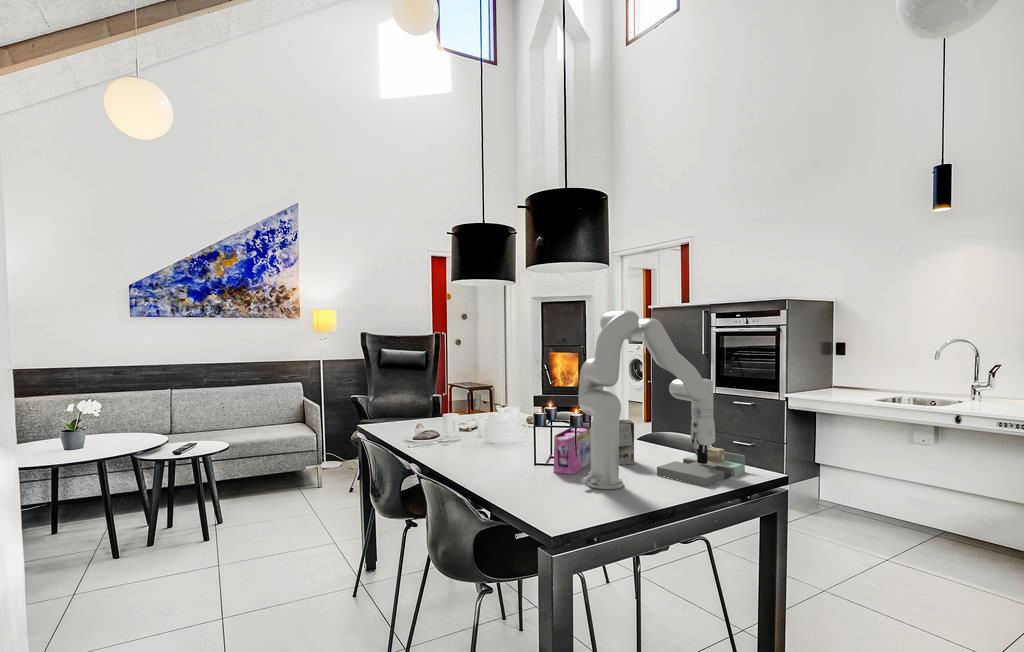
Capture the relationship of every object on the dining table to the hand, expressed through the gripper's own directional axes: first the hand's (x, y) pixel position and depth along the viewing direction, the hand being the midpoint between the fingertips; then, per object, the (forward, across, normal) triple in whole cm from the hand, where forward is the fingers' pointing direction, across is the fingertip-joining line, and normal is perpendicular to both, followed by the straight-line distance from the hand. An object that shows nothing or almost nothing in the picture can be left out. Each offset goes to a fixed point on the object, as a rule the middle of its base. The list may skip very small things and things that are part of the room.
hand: (702, 462), depth 194 cm
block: (+1, +8, -1) cm, 9 cm away
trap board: (+4, -1, 0) cm, 4 cm away
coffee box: (+4, -8, +29) cm, 30 cm away
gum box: (+4, -28, +38) cm, 47 cm away
